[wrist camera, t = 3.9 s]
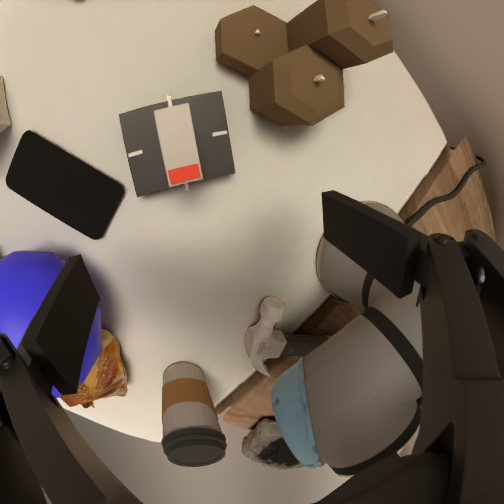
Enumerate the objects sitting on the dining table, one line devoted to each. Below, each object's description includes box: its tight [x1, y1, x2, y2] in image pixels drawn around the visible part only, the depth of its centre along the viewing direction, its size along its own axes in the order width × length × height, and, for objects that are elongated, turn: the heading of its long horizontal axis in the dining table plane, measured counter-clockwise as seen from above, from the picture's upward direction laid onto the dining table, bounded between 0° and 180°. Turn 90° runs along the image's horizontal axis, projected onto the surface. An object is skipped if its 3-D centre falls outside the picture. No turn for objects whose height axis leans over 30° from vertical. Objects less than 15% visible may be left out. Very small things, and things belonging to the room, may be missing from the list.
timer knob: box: [154, 103, 203, 187], centre depth 21 cm, size 6×2×8 cm, turn 9°
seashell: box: [60, 328, 127, 408], centre depth 31 cm, size 17×8×15 cm
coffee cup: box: [162, 362, 227, 467], centre depth 33 cm, size 8×8×15 cm
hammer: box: [245, 297, 332, 377], centre depth 44 cm, size 13×3×30 cm
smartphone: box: [6, 130, 125, 240], centre depth 24 cm, size 7×1×15 cm
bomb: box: [0, 251, 102, 398], centre depth 22 cm, size 16×15×18 cm
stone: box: [242, 418, 306, 470], centre depth 51 cm, size 15×28×10 cm
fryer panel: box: [119, 91, 235, 197], centre depth 26 cm, size 10×10×3 cm
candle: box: [215, 0, 393, 126], centre depth 19 cm, size 14×14×15 cm
